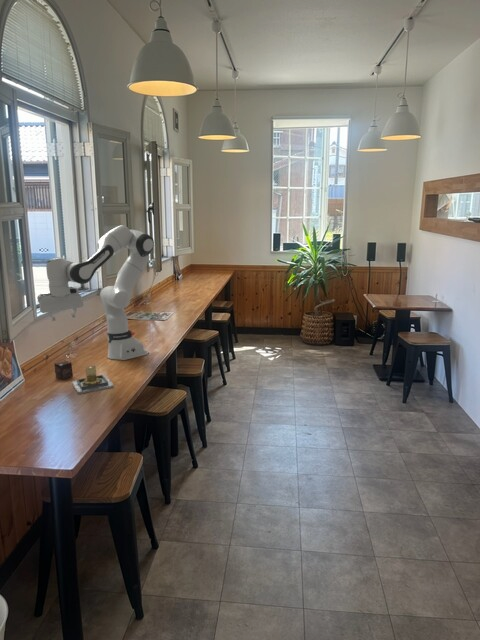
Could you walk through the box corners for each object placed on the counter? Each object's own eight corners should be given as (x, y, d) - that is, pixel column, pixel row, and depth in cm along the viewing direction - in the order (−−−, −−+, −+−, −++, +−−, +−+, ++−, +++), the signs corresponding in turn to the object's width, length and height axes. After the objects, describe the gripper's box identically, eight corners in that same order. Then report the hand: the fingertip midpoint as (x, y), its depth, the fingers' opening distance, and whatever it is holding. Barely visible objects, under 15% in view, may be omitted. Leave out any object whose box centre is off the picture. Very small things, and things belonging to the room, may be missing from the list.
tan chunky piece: (99, 379, 232) (98, 363, 230) (103, 384, 225) (102, 367, 223) (80, 382, 228) (79, 366, 226) (84, 387, 221) (82, 371, 219)
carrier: (105, 377, 237) (105, 372, 237) (113, 387, 224) (113, 382, 223) (72, 383, 230) (71, 379, 230) (78, 394, 216) (77, 389, 216)
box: (66, 373, 244) (65, 360, 243) (73, 376, 241) (71, 362, 239) (55, 377, 240) (53, 363, 238) (62, 379, 236) (60, 365, 234)
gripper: (37, 295, 228) (42, 323, 231) (81, 288, 238) (85, 316, 241) (35, 293, 234) (40, 321, 237) (79, 287, 243) (83, 314, 246)
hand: (63, 318), depth 239 cm, fingers open, 8 cm apart
